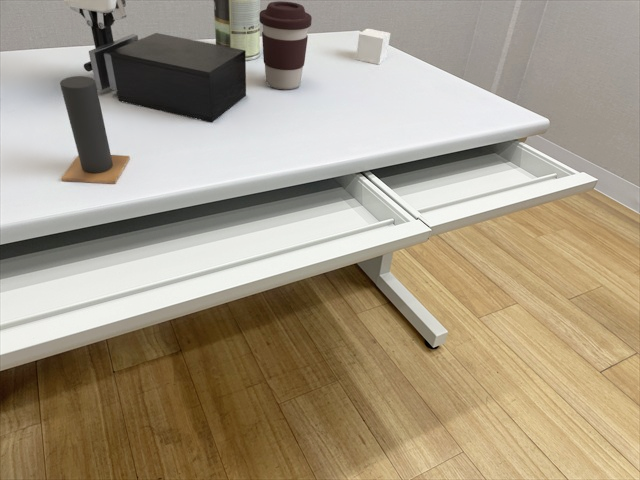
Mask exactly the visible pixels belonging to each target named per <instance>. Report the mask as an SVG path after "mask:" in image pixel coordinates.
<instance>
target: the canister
mask: <svg viewBox="0 0 640 480" xmlns="http://www.w3.org/2000/svg"><path fill="white" fill-rule="evenodd" d="M59 85H60V89H61V93H62V97H63V101H64V104H65V108H66V112H67V116H68V120H69V124H70V128H71V133H72V135H73V139H74V142H75V146H76V151H77V156H78V155H79V159H80V163H81V167H82V169H83V170H84V171H85V172H87V173H102V172H105V171H108V170H109V169H111V168H112V166H113V163H112V158H111V155H112V154H111V149H110V144H109V140H108V135H107V134H108V133H107V130H106V126H105V120H104V117H103V112H102V107H101V102H100V98H99V91H98V90H97V87H96V82H95V79H94V77H93V78H92V77H90V76H84V75H79V76H78V75H77V76H76V75H75V76H68V77H66V78H63V79H61V80H60V82H59Z"/></svg>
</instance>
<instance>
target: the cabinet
mask: <svg viewBox="0 0 640 480" xmlns="http://www.w3.org/2000/svg"><path fill="white" fill-rule="evenodd" d="M245 54H246V51H245V50H241V49H236V48H231V47H226V46H221V45H216V43H215V44H214V43H209V42H204V41H201V40H196V39H190V38H185V37H179V36H174V35H170V34H164V33H158V32H155V33H152V34H150V35H148V36H145V37H142V38H140V39H138V41H135V42H133V43H130V44H128V45H125V46H123V47H120V48H118V49H116V50H113V51H111V52H110V56H111V61H112V66H113V72H114V77H115V82H116V88H117V91H116V92H117V99H118V101H119V102H122V101H123V102H122V103H126V102H127V104H130V103H131V105H135V106H139V105H140V106H139V107H143V106H144V108H148V109H152V108H153V109H152V110H156V109H157V111H160V110H162V111H161V112H165V111H166V112H165V113H169V112H170V114H173V113H174V115H178V116H182V115H183V116H182V117H186V116H187V117H186V118H191V117H192V118H191V119H195V118H197V119H196V120H199V119H201V120H200V121H204V122H208V123H213V122H215V121H216V120H217V119H219V118H220V117H221V116H223V115H224V114H225V113H226V112H228V111H229V110H230V109H231V108H233V107H234V106H235V105H236V104H238V103H239V102H241V101H242V100H243V99H244V98H246V97H247V67H246V66H247V63H246V62H247V61H246V55H245ZM218 117H219V118H218Z"/></svg>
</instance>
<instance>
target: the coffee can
mask: <svg viewBox="0 0 640 480" xmlns="http://www.w3.org/2000/svg"><path fill="white" fill-rule="evenodd" d="M260 12H261V0H213V14H214V15H213V17H214V32H215V45H221V46H226V47H231V48H236V49H241V50H245V51H246V54H245V55H246V62H247V61H252V60H256V59H258V58H259V57H260V55H261V52H260V51H261V50H260V49H261V46H260V45H261V44H260V43H261V38H260V37H261V23H260V20H259V16H260Z"/></svg>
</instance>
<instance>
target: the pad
mask: <svg viewBox="0 0 640 480" xmlns="http://www.w3.org/2000/svg"><path fill="white" fill-rule="evenodd" d="M111 158H112V163H113V166H112V168H111V169H109V170H108V171H105V172H102V173H87V172H85V171H84V170H83V169H82V167H81V163H80V159H79V155H78V154H77V157H76V158H75V159H74V160H73V162H72V163H71V164H70V165H69V166H68V168H67V170H66V171H65V172H64V174H63V175H62V176H61V177H60V179H61V181H62V182H74V183H75V182H76V183H92V184H110V185H116V183H117V182H118V180H119V178H120V176H121V175H122V173H123V172H124V170H125V169H126V167H127V165H128V163H129V161H130V160H131V159H130V158H131V157H130V155H124V154H123V155H121V154H120V155H119V154H111Z"/></svg>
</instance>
